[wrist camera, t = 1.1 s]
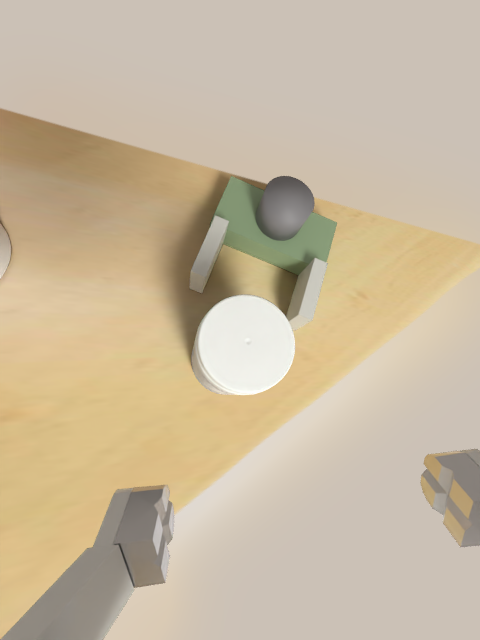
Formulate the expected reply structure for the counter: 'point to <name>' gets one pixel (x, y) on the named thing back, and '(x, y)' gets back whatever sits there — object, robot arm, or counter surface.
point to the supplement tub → (242, 346)
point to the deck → (261, 244)
